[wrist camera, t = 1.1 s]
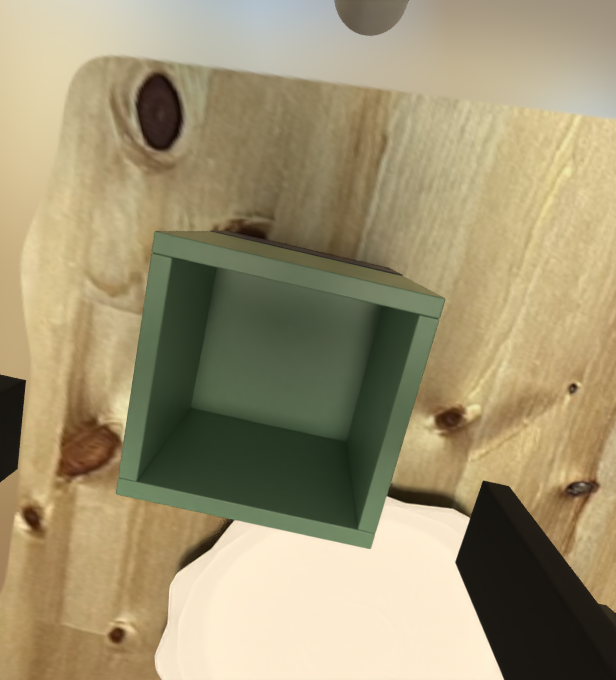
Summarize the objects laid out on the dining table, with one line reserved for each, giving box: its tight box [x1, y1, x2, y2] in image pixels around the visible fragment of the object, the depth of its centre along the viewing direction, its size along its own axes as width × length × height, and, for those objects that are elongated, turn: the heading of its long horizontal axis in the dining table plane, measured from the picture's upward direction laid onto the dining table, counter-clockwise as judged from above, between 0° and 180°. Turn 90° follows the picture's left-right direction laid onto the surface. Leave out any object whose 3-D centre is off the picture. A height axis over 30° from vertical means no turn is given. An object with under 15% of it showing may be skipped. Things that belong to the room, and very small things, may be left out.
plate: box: [154, 495, 504, 680], centre depth 37 cm, size 29×29×2 cm
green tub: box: [116, 231, 445, 549], centre depth 23 cm, size 11×11×9 cm
